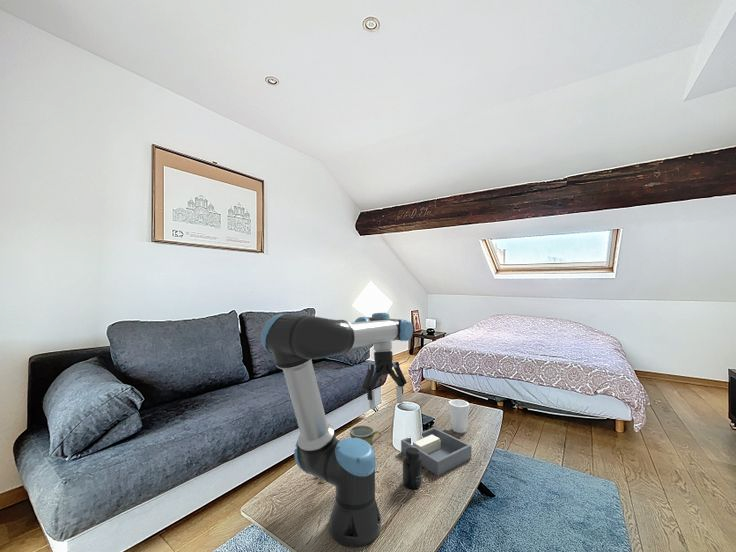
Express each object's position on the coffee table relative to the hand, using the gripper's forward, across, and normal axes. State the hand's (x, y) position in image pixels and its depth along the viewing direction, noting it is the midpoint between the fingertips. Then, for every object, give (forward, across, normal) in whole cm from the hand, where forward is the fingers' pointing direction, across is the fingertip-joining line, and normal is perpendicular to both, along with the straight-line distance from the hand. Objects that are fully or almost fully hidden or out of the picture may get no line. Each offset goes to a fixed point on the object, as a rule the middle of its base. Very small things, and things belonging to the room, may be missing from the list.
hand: (386, 406), depth 125 cm
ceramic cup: (+21, +2, -15) cm, 26 cm away
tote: (+23, -21, +2) cm, 31 cm away
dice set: (+24, +23, -11) cm, 35 cm away
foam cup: (+20, -49, -9) cm, 53 cm away
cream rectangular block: (+21, -21, -2) cm, 30 cm away
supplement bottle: (+26, -2, +10) cm, 28 cm away
